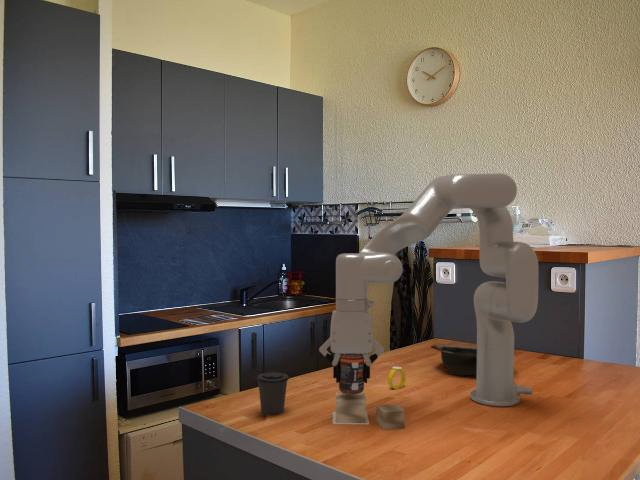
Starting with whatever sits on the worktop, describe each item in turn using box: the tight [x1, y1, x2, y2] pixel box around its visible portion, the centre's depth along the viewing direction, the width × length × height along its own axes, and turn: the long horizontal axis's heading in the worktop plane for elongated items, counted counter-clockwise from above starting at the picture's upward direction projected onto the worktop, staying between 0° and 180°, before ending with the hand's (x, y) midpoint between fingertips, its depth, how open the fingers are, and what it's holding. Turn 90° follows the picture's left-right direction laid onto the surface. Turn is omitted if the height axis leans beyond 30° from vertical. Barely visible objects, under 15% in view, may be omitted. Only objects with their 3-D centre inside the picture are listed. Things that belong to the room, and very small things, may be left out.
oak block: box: [375, 403, 406, 431], centre depth 130 cm, size 5×5×4 cm
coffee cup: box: [256, 371, 290, 418], centre depth 140 cm, size 8×8×10 cm
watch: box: [387, 366, 406, 390], centre depth 163 cm, size 6×3×6 cm, turn 130°
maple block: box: [335, 391, 367, 423], centre depth 135 cm, size 7×7×5 cm
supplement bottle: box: [338, 354, 365, 394], centre depth 135 cm, size 6×6×11 cm
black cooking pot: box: [430, 344, 477, 377], centre depth 183 cm, size 25×25×9 cm
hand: (351, 380), depth 135 cm, fingers closed on supplement bottle, 6 cm apart
